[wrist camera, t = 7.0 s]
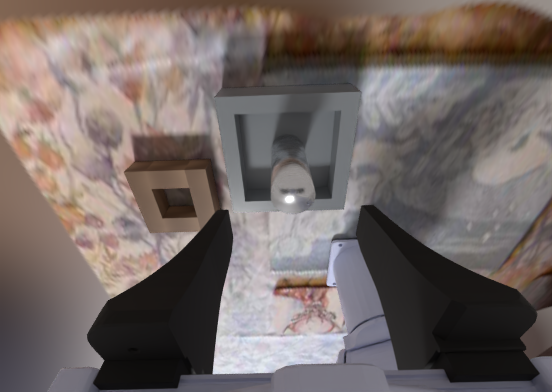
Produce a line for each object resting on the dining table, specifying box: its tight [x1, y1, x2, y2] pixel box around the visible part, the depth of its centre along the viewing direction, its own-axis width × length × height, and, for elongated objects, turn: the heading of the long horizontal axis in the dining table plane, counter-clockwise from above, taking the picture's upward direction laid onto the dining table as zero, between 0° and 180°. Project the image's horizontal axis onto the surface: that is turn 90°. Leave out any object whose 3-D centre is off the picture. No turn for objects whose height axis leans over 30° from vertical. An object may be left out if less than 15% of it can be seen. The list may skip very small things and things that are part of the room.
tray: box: [214, 83, 361, 213], centre depth 21 cm, size 10×10×3 cm
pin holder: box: [124, 159, 220, 233], centre depth 24 cm, size 7×7×2 cm
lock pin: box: [271, 135, 316, 214], centre depth 19 cm, size 3×3×7 cm
